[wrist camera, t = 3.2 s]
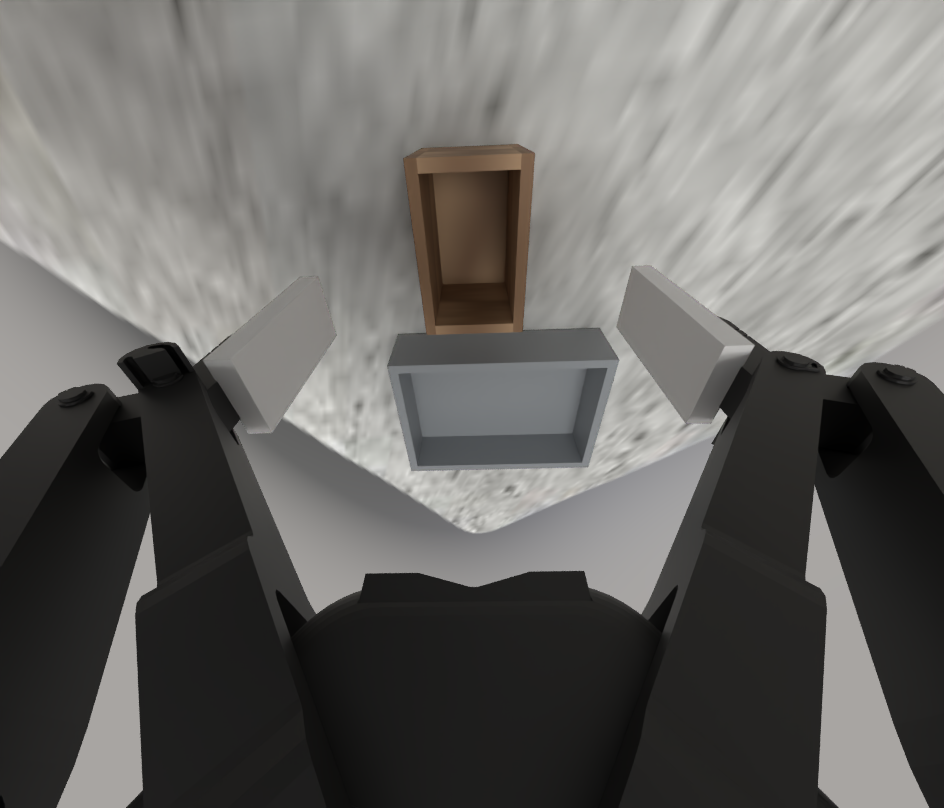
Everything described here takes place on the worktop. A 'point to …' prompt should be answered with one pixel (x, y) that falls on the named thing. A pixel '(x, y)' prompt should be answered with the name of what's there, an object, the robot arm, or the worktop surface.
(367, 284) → the worktop surface
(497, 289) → the walnut crate
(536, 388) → the grey crate
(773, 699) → the robot arm
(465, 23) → the worktop surface
